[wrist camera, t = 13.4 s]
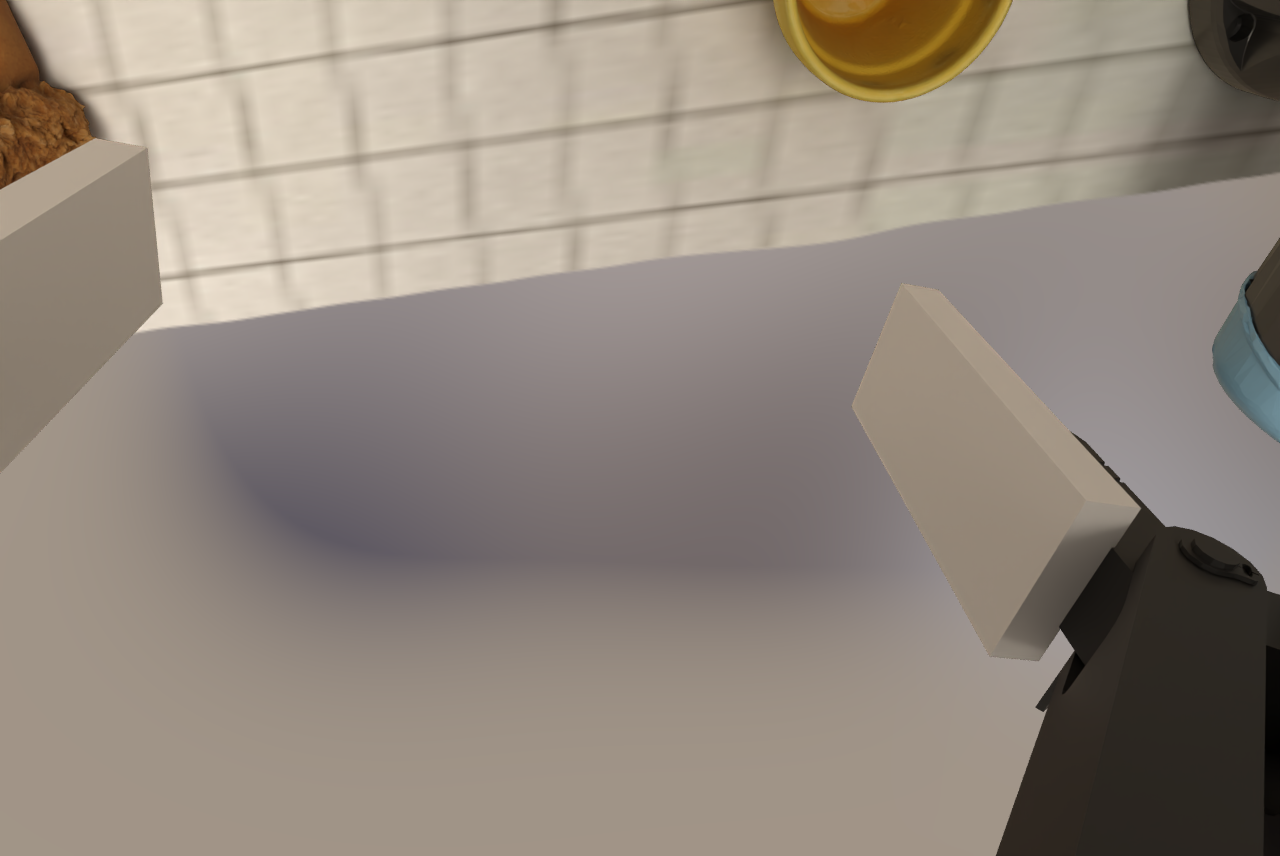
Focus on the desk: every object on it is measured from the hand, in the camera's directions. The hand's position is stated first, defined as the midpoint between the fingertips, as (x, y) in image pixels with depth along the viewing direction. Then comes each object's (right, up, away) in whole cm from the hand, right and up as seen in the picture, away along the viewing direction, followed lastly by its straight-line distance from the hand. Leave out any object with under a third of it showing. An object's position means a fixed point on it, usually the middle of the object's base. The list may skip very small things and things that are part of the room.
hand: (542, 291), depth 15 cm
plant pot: (+12, +22, +29) cm, 38 cm away
